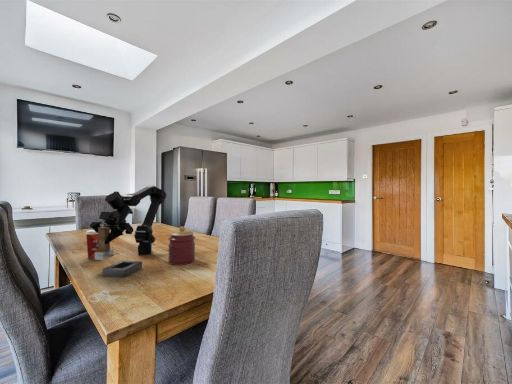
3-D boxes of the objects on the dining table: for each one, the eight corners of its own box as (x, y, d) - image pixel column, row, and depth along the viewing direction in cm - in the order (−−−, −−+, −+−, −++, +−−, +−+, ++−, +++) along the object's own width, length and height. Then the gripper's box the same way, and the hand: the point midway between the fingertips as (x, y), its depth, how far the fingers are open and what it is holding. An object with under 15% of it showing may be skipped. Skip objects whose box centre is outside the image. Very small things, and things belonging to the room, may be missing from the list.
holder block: (122, 266, 111) (122, 260, 110) (142, 268, 109) (142, 261, 109) (102, 276, 99) (102, 269, 99) (124, 277, 97) (124, 270, 97)
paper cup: (96, 258, 123) (96, 231, 122) (81, 258, 123) (81, 231, 123) (106, 254, 130) (106, 229, 130) (92, 254, 131) (92, 229, 130)
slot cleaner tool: (105, 255, 108) (105, 226, 108) (113, 256, 108) (113, 226, 108) (94, 259, 103) (94, 228, 102) (102, 260, 102) (102, 228, 102)
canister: (187, 266, 113) (187, 229, 112) (162, 264, 115) (163, 227, 115) (199, 258, 125) (199, 225, 125) (177, 256, 128) (177, 224, 128)
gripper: (93, 204, 110) (71, 232, 99) (129, 205, 107) (110, 234, 96) (106, 218, 118) (87, 246, 107) (140, 220, 115) (124, 248, 104)
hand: (101, 243), depth 104 cm, fingers closed on slot cleaner tool, 3 cm apart
